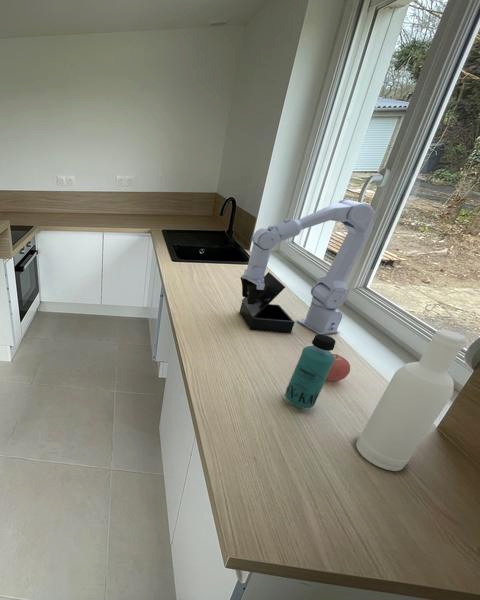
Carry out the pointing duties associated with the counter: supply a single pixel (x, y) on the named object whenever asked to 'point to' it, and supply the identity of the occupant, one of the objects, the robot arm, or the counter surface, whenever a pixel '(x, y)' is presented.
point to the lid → (265, 295)
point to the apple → (338, 369)
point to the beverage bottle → (311, 372)
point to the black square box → (268, 319)
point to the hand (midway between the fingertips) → (248, 300)
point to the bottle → (411, 404)
